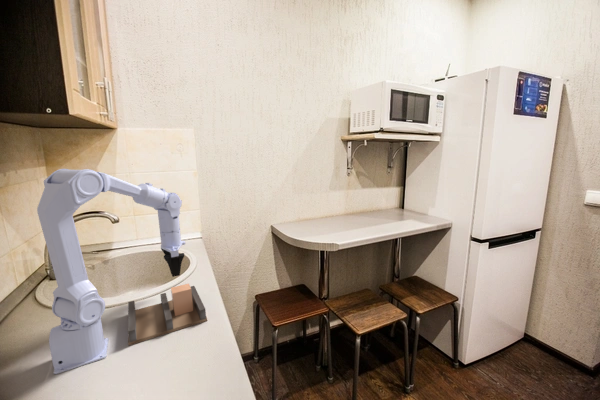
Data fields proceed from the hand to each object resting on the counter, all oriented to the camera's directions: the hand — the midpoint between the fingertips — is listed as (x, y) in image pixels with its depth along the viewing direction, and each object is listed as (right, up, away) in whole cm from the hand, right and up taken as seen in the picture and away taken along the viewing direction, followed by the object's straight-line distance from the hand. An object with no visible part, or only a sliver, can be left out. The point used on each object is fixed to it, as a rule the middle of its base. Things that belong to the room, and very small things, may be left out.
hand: (174, 271), depth 89 cm
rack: (+2, -11, -9) cm, 14 cm away
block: (+6, -10, -7) cm, 13 cm away
